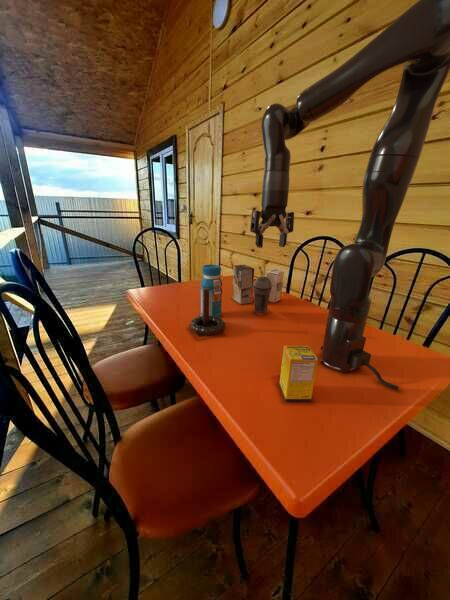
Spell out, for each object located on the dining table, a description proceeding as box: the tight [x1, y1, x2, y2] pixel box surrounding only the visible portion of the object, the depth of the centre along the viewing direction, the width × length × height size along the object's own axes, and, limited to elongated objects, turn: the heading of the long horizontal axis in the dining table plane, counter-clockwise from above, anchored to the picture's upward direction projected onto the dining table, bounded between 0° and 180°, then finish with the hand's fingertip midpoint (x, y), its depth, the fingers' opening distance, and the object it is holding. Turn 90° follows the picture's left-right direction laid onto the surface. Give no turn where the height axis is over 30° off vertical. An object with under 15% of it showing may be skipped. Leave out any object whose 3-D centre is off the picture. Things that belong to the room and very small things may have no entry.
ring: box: [189, 315, 226, 336], centre depth 86 cm, size 12×12×2 cm
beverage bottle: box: [199, 264, 223, 318], centre depth 97 cm, size 8×8×20 cm
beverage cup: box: [253, 265, 272, 314], centre depth 101 cm, size 7×7×20 cm
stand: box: [188, 288, 224, 338], centre depth 84 cm, size 9×9×16 cm
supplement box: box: [278, 345, 319, 402], centre depth 57 cm, size 6×6×11 cm
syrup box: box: [266, 268, 285, 304], centre depth 119 cm, size 6×6×14 cm
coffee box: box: [231, 264, 255, 305], centre depth 117 cm, size 9×6×16 cm
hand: (271, 247), depth 78 cm, fingers open, 8 cm apart
